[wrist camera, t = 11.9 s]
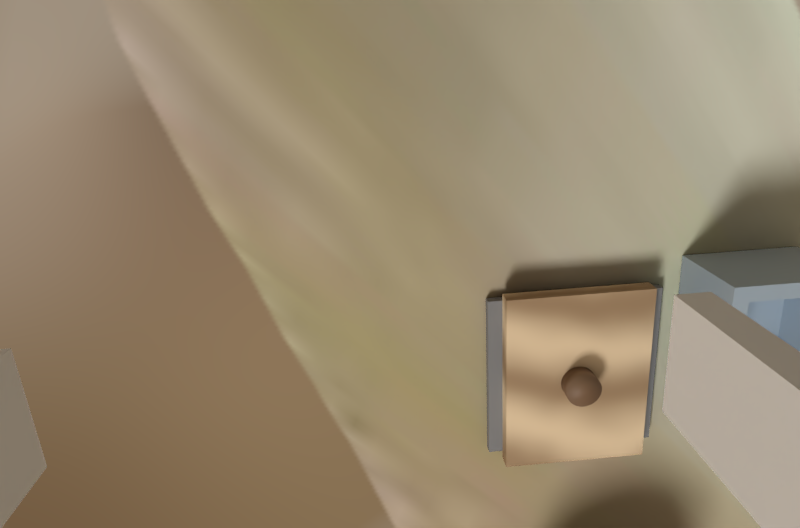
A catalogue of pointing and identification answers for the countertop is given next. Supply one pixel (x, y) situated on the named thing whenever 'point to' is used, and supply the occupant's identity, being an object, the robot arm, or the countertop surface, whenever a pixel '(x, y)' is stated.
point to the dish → (752, 285)
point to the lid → (575, 372)
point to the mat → (496, 370)
